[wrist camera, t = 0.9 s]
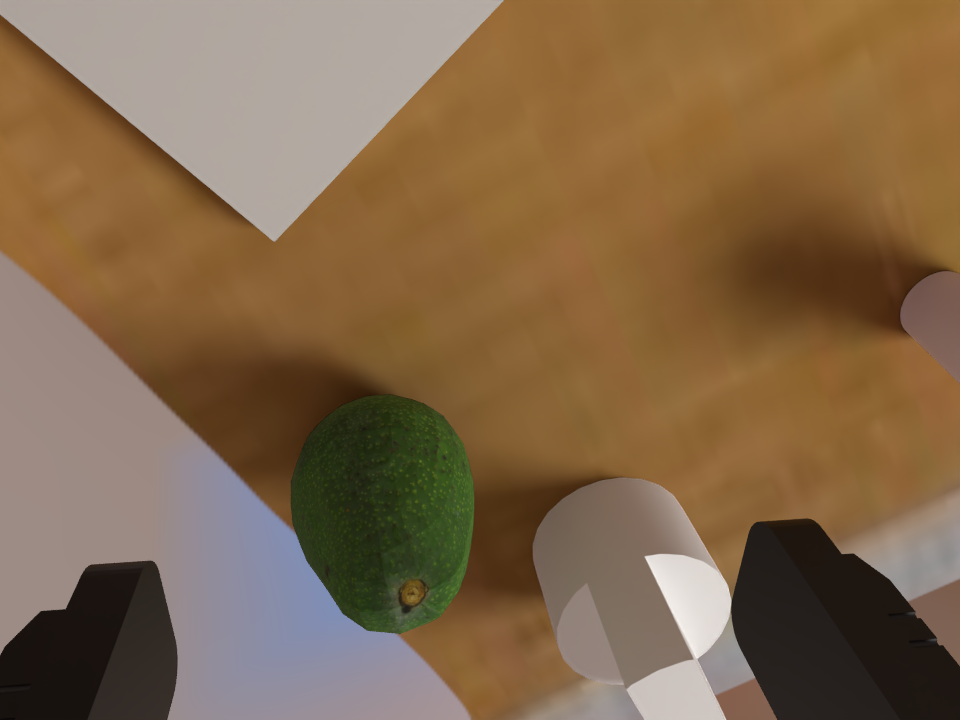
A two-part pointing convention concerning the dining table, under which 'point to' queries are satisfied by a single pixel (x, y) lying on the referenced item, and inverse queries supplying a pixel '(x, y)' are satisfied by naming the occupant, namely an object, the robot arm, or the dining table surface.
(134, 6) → the white and grey slab
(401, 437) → the fruit
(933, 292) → the smoothie
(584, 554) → the cylinder with rectangular tab
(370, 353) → the dining table surface
